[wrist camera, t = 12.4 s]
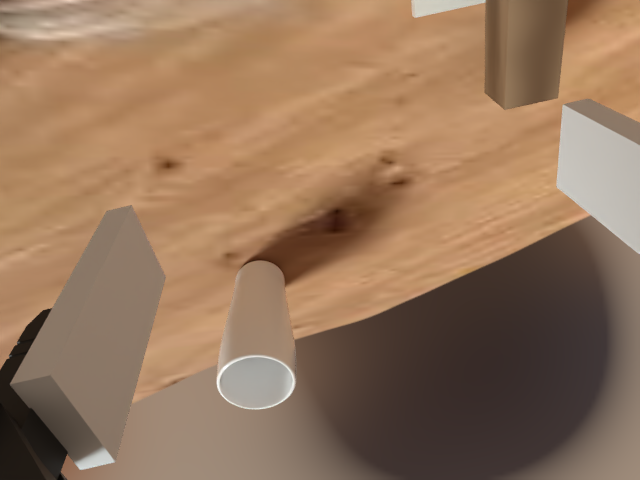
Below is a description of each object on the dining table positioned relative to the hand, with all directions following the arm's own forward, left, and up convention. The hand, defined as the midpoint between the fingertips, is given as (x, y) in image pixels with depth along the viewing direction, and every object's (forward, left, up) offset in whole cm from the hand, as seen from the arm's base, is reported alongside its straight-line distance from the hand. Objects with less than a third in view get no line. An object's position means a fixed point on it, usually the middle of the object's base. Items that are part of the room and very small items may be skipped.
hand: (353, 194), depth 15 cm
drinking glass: (-10, -23, -30) cm, 39 cm away
